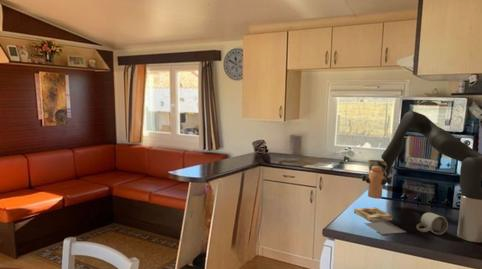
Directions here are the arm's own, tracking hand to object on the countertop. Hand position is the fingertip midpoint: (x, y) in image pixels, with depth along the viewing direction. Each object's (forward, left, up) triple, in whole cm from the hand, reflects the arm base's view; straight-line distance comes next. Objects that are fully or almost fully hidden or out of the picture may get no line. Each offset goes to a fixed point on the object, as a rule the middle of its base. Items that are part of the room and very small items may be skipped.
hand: (375, 181), depth 154 cm
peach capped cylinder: (-2, -2, -7) cm, 8 cm away
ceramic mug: (-16, +17, -18) cm, 29 cm away
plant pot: (-45, -57, -18) cm, 75 cm away
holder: (-2, -3, -18) cm, 18 cm away
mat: (+2, +11, -18) cm, 21 cm away
